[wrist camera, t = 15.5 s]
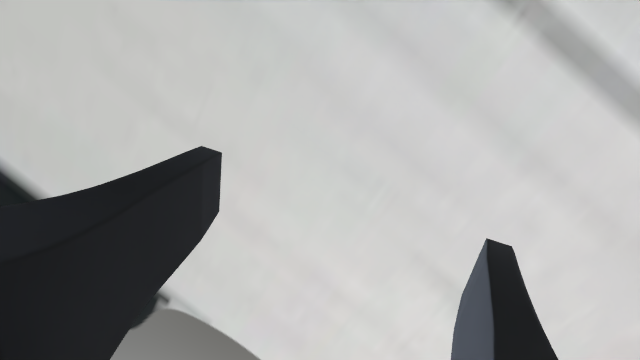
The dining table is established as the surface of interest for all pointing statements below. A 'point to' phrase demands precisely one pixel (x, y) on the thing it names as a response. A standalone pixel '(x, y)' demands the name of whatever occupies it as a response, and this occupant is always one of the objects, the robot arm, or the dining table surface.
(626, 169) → the dining table surface
